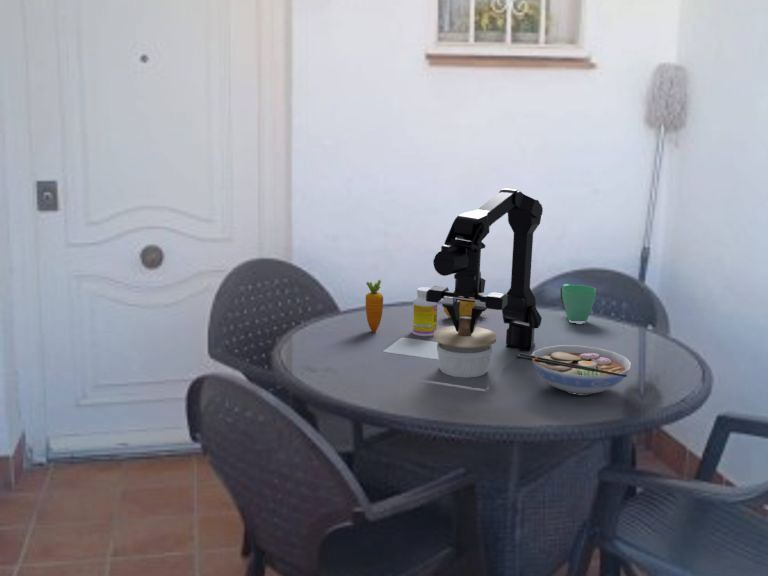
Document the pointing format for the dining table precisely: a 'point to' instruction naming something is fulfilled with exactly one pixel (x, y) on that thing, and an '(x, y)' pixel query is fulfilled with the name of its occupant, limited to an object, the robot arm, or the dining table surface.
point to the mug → (577, 301)
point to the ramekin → (463, 360)
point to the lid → (464, 335)
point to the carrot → (374, 306)
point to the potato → (464, 308)
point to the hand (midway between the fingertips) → (465, 332)
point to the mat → (414, 348)
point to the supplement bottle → (424, 314)
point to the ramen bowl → (579, 367)
